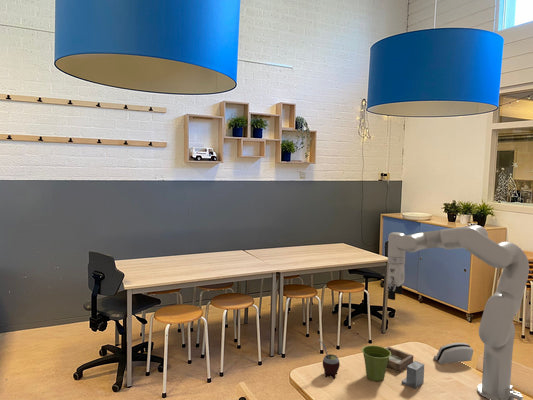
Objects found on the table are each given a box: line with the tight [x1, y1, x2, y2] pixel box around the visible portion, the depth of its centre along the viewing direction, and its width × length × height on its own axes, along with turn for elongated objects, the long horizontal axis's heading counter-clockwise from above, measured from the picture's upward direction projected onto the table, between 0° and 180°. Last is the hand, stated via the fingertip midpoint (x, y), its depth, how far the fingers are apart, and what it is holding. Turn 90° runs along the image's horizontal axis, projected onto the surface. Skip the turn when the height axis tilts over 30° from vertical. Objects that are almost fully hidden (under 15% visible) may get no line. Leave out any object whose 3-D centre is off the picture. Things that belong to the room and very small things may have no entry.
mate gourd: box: [317, 339, 341, 380], centre depth 169 cm, size 8×8×15 cm
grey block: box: [401, 360, 425, 390], centre depth 164 cm, size 6×7×8 cm
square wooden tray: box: [385, 346, 414, 373], centre depth 181 cm, size 12×12×4 cm
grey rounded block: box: [433, 342, 474, 365], centre depth 183 cm, size 17×5×10 cm, turn 103°
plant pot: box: [361, 345, 391, 382], centre depth 168 cm, size 12×12×11 cm
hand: (395, 296), depth 183 cm, fingers open, 9 cm apart
